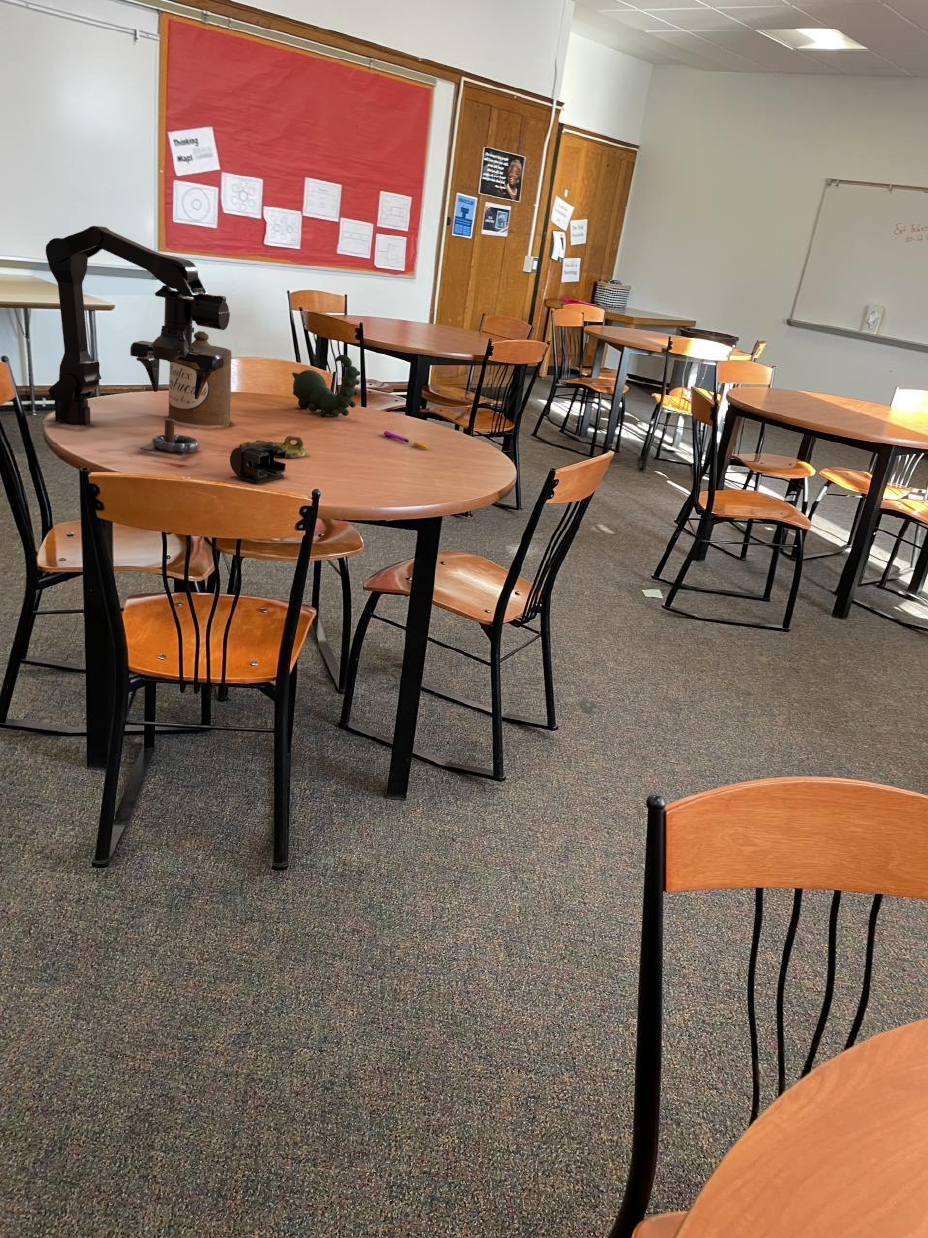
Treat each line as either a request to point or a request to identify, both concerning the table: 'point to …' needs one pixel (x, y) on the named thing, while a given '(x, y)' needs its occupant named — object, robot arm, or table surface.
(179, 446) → the ring
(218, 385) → the wooden container
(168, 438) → the stand
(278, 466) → the end cap
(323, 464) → the table surface
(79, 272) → the robot arm
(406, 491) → the table surface
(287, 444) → the seal
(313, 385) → the toy figurine
